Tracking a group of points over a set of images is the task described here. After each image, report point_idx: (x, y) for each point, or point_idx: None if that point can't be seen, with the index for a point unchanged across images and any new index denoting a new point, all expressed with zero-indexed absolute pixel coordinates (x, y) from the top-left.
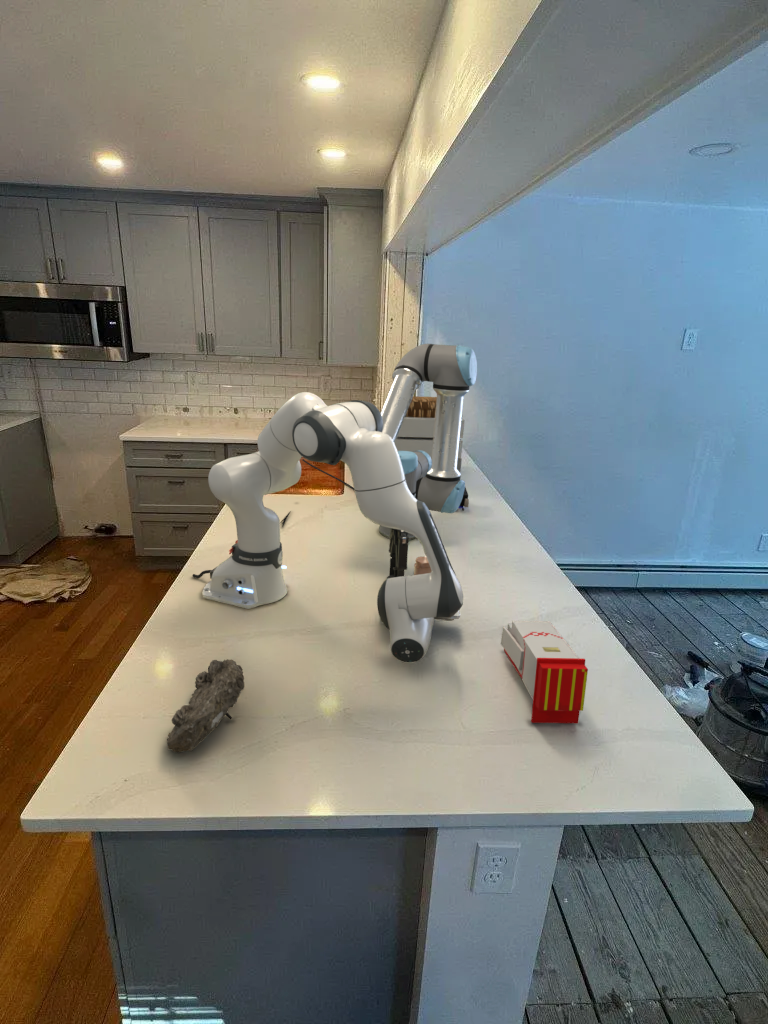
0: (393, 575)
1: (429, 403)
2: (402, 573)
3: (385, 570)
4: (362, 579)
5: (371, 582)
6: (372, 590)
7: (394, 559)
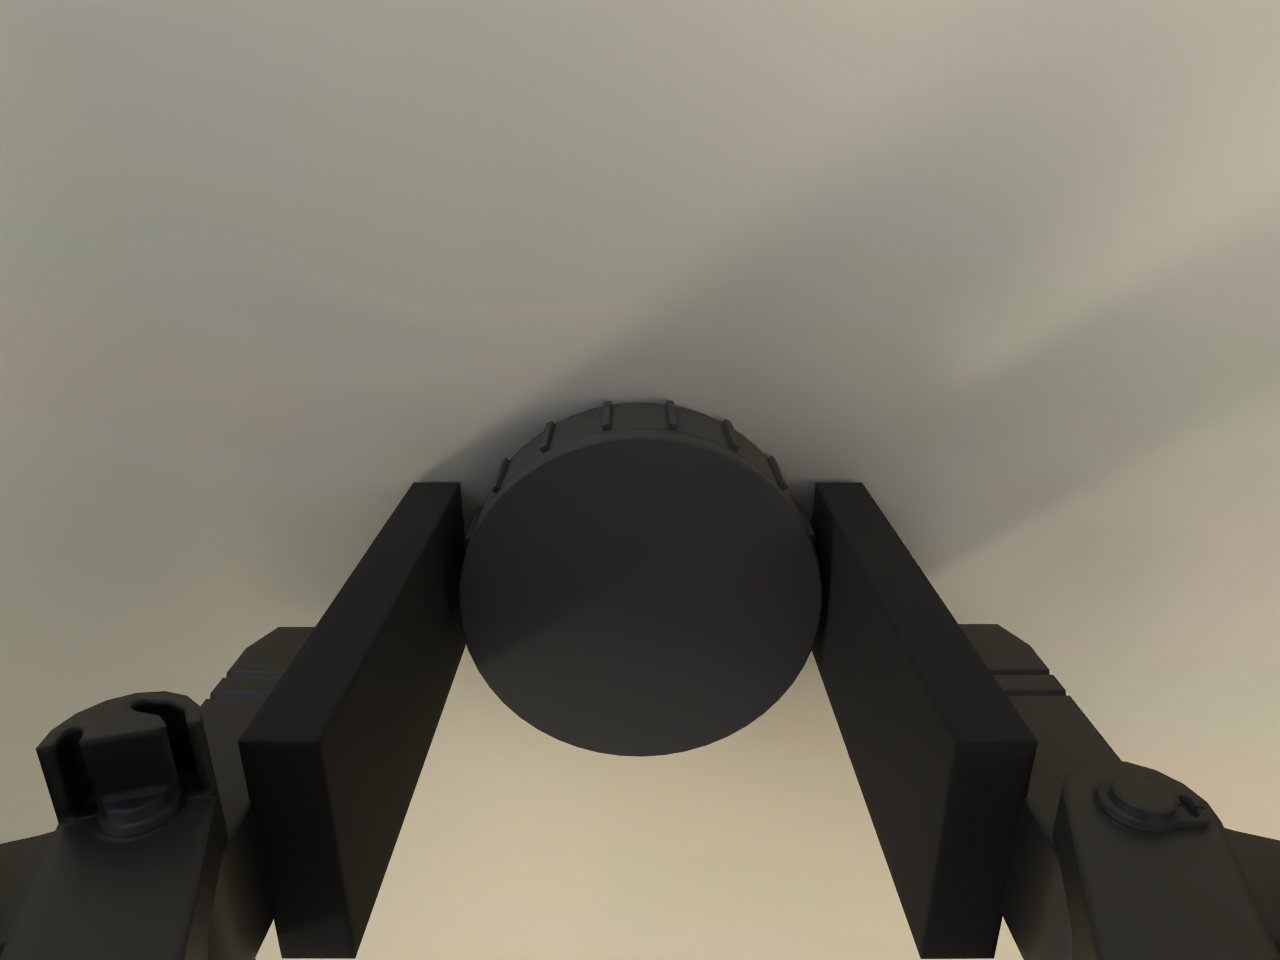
0: (499, 631)
1: None
2: (1096, 744)
3: (107, 629)
4: (451, 952)
5: (550, 866)
6: (795, 882)
7: (348, 866)
